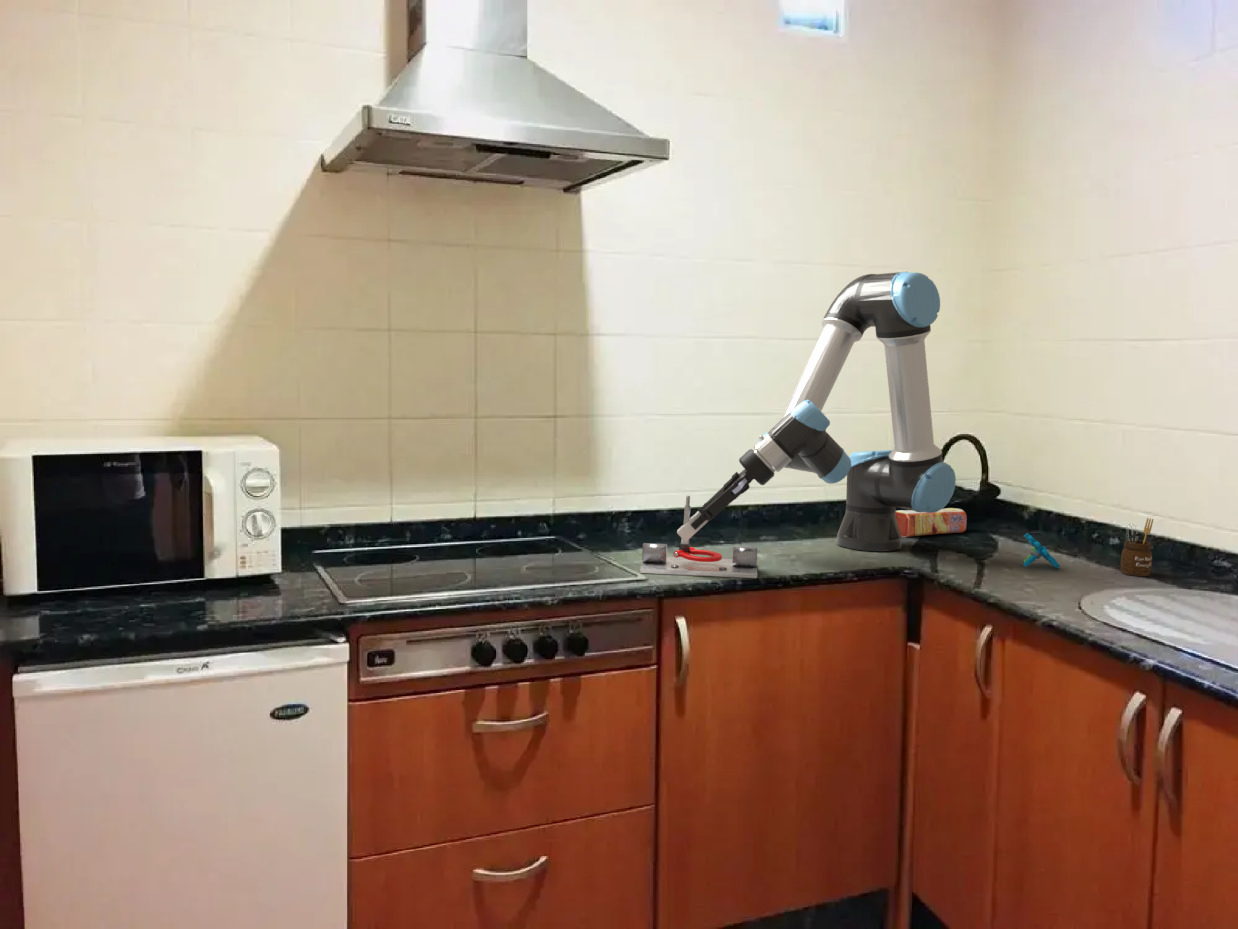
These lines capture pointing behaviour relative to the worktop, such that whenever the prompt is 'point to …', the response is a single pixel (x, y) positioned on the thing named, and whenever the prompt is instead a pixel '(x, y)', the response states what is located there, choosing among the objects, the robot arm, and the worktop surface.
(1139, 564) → the utensil holder
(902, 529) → the snack package
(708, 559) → the tow hook
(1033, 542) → the gear
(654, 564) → the hinge leaf
